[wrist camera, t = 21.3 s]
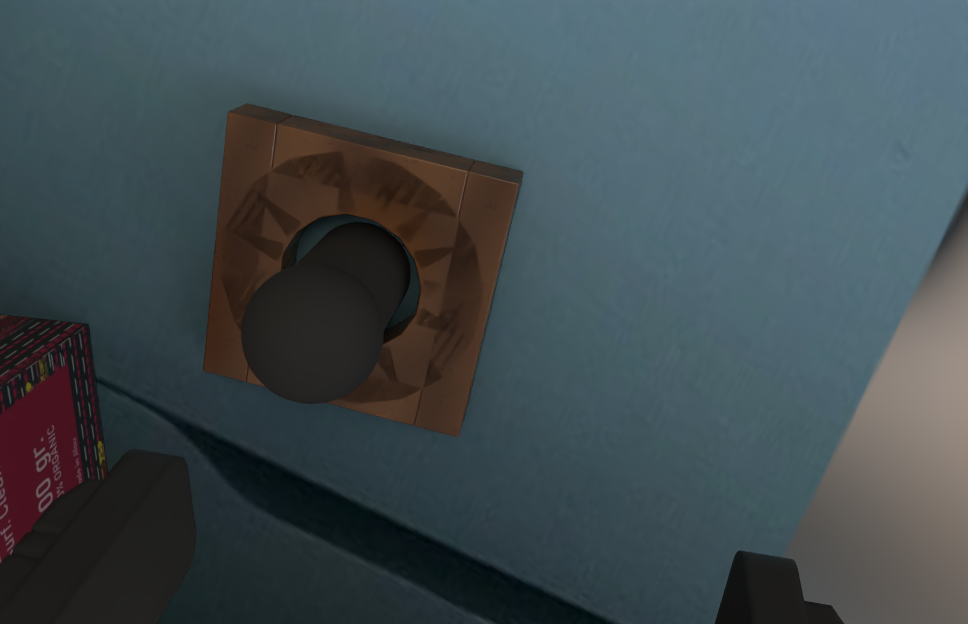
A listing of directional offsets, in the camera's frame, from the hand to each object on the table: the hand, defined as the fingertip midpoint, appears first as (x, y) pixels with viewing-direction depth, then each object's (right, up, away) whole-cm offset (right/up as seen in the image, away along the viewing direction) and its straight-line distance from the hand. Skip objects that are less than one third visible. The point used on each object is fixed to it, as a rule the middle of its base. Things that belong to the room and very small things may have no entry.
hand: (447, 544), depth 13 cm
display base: (-5, +5, +26) cm, 27 cm away
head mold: (-5, +5, +26) cm, 27 cm away
